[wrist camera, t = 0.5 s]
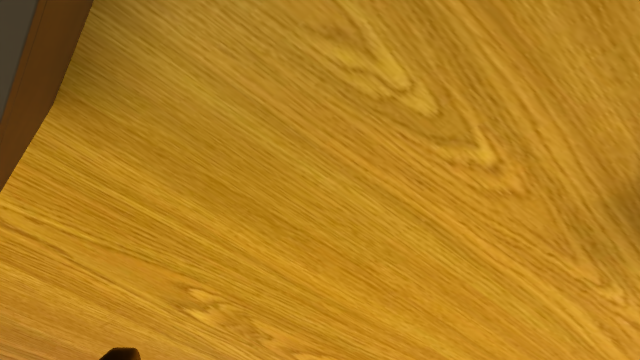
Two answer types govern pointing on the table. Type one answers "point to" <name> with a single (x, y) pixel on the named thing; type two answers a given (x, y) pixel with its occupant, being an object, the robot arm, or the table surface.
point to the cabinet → (33, 67)
